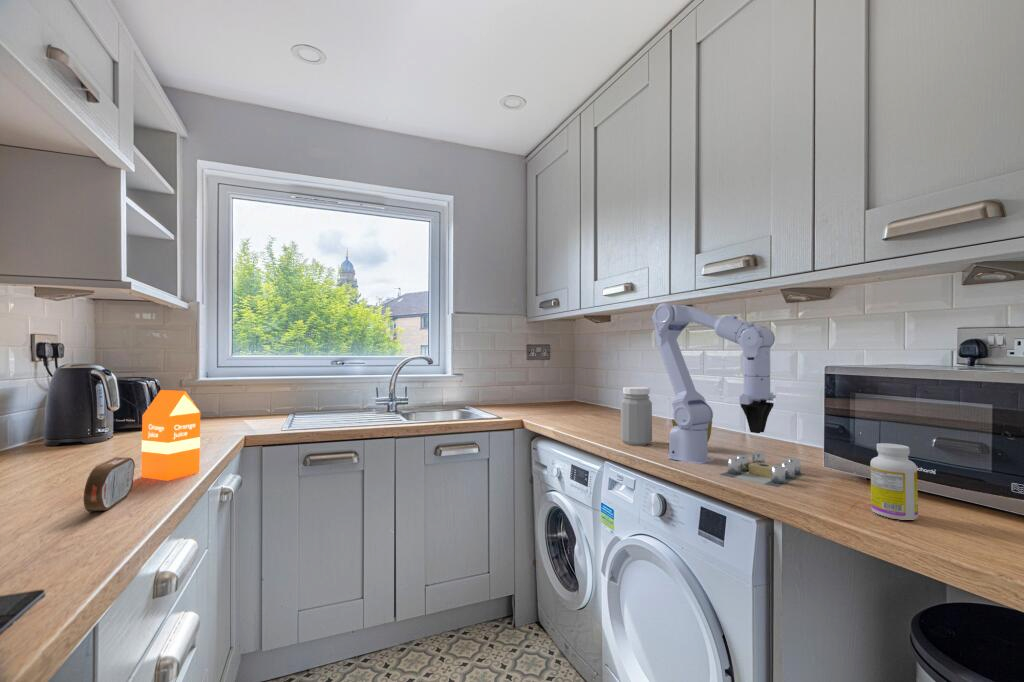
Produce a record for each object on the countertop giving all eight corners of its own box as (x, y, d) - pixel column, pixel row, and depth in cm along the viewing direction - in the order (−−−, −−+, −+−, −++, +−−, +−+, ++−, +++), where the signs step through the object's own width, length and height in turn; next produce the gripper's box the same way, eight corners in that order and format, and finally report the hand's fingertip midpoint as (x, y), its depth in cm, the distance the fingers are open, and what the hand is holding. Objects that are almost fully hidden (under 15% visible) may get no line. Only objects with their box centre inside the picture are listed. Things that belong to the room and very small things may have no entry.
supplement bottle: (896, 509, 88) (896, 442, 88) (928, 522, 81) (927, 449, 81) (861, 509, 88) (861, 441, 88) (890, 522, 81) (889, 449, 81)
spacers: (724, 472, 112) (724, 458, 112) (749, 463, 121) (749, 450, 121) (782, 484, 102) (782, 469, 102) (805, 474, 111) (805, 459, 111)
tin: (118, 493, 95) (119, 452, 95) (137, 492, 96) (138, 451, 96) (80, 519, 81) (81, 471, 81) (102, 516, 82) (103, 469, 82)
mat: (719, 476, 110) (719, 474, 110) (749, 465, 121) (749, 463, 121) (777, 488, 100) (777, 487, 100) (805, 475, 111) (805, 473, 111)
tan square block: (748, 473, 111) (748, 464, 111) (757, 470, 114) (757, 461, 114) (770, 478, 107) (770, 468, 107) (779, 474, 110) (779, 465, 110)
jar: (615, 441, 153) (615, 386, 153) (640, 439, 156) (640, 386, 156) (631, 447, 143) (631, 389, 144) (658, 445, 146) (658, 388, 147)
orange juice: (167, 480, 104) (168, 392, 105) (140, 477, 107) (142, 391, 108) (200, 472, 112) (201, 389, 112) (174, 469, 115) (176, 388, 115)
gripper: (761, 377, 104) (762, 438, 104) (786, 375, 113) (786, 431, 113) (730, 376, 109) (730, 433, 109) (756, 374, 119) (756, 427, 119)
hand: (757, 432), depth 112 cm, fingers closed
